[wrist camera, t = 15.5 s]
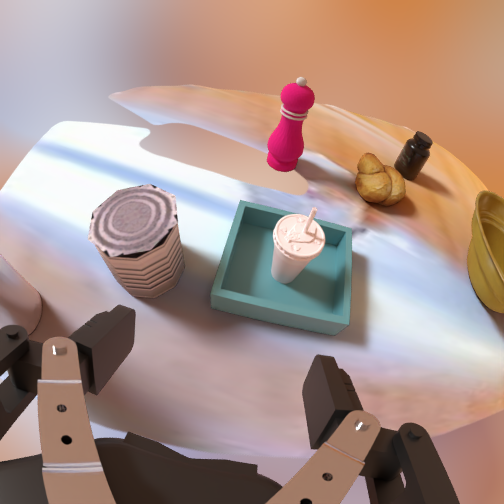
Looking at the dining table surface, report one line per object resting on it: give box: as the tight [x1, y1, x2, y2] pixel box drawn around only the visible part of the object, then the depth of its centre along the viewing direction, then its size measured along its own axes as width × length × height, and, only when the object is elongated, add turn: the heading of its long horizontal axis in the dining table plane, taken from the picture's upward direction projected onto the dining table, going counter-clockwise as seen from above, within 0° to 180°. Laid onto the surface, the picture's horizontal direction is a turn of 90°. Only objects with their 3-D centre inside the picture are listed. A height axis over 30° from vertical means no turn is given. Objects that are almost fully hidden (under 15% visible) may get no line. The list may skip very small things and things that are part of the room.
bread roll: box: [355, 153, 406, 206], centre depth 52 cm, size 13×10×8 cm
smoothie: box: [271, 207, 325, 284], centre depth 35 cm, size 6×6×14 cm
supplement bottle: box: [394, 131, 433, 180], centre depth 57 cm, size 7×7×12 cm
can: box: [88, 184, 185, 298], centre depth 35 cm, size 11×11×12 cm
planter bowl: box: [467, 191, 504, 313], centre depth 41 cm, size 32×32×13 cm
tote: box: [210, 200, 352, 336], centre depth 40 cm, size 18×16×5 cm
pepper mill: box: [267, 77, 315, 172], centre depth 48 cm, size 7×7×20 cm
